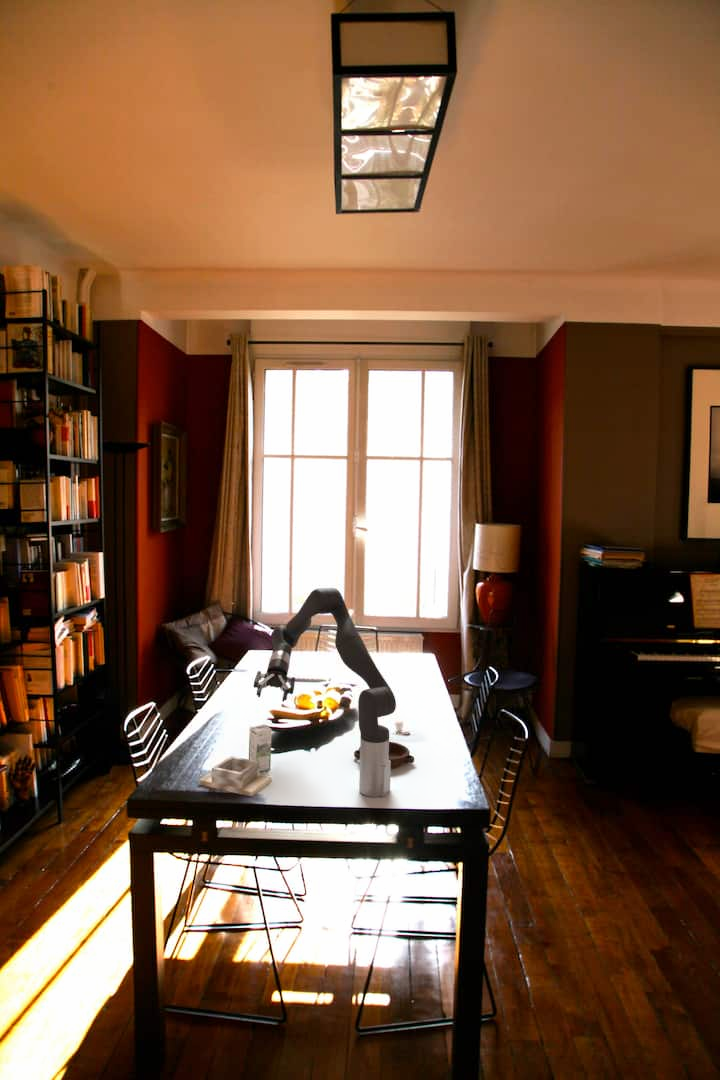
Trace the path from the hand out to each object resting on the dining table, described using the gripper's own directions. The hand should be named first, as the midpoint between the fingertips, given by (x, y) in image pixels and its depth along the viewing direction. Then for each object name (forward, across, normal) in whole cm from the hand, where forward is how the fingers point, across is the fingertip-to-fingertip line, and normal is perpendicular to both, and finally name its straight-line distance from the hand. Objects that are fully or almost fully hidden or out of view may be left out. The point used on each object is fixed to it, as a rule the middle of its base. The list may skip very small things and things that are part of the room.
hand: (271, 697), depth 208 cm
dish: (+5, +44, +18) cm, 48 cm away
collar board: (+23, -6, +17) cm, 29 cm away
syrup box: (+13, +1, +21) cm, 25 cm away
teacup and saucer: (-21, +52, +31) cm, 64 cm away
